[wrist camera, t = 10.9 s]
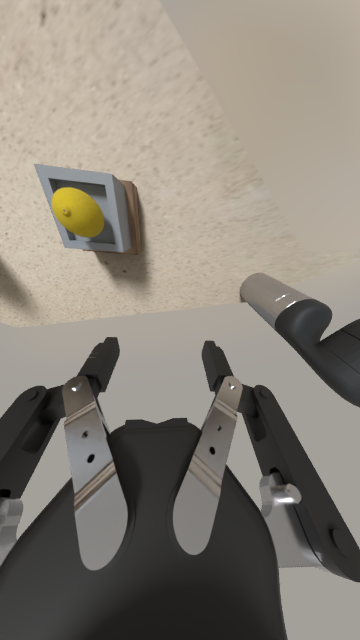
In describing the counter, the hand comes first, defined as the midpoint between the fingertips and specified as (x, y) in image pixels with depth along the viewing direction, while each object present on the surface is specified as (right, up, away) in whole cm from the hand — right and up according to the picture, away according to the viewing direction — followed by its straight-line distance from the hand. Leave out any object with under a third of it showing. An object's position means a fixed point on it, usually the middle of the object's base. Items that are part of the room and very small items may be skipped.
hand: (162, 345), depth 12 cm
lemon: (-13, +20, +10) cm, 26 cm away
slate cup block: (-14, +23, +14) cm, 30 cm away
